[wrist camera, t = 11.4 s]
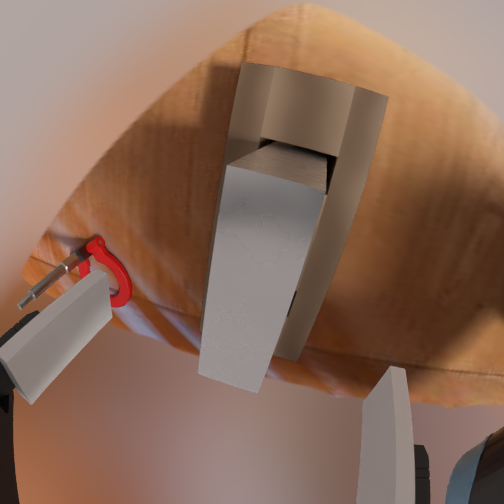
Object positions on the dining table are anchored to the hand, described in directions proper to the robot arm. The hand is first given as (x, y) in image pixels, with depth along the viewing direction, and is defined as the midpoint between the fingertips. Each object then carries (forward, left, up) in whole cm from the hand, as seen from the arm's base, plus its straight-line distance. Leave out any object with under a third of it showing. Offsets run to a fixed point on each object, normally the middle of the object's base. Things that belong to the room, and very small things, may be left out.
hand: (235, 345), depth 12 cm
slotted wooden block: (0, 0, -16) cm, 16 cm away
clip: (0, 0, -16) cm, 16 cm away
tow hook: (+20, +13, -16) cm, 29 cm away
